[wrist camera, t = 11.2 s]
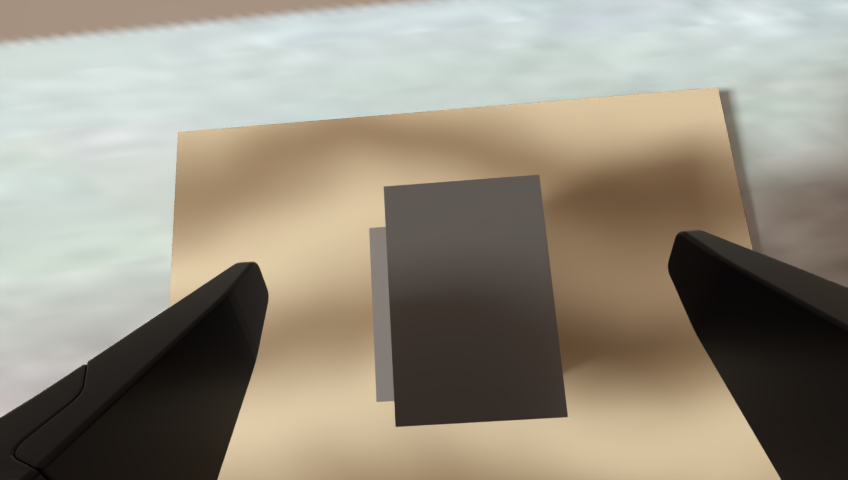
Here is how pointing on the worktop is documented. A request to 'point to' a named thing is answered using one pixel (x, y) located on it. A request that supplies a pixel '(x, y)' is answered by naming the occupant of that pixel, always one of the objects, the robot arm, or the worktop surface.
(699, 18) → the worktop surface
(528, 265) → the grey stepped block
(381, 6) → the worktop surface
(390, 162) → the birch board
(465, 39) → the worktop surface
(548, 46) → the worktop surface
